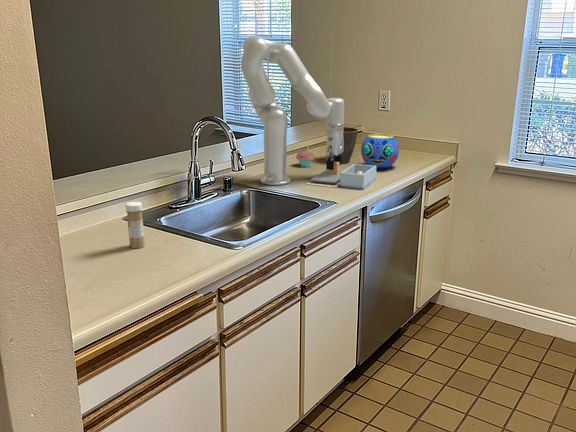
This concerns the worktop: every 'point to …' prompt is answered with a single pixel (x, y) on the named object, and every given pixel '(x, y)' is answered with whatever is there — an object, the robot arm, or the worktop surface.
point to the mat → (324, 184)
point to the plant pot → (348, 143)
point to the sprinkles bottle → (135, 224)
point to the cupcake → (305, 157)
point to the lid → (329, 175)
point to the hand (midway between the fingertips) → (333, 167)
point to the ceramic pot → (380, 150)
